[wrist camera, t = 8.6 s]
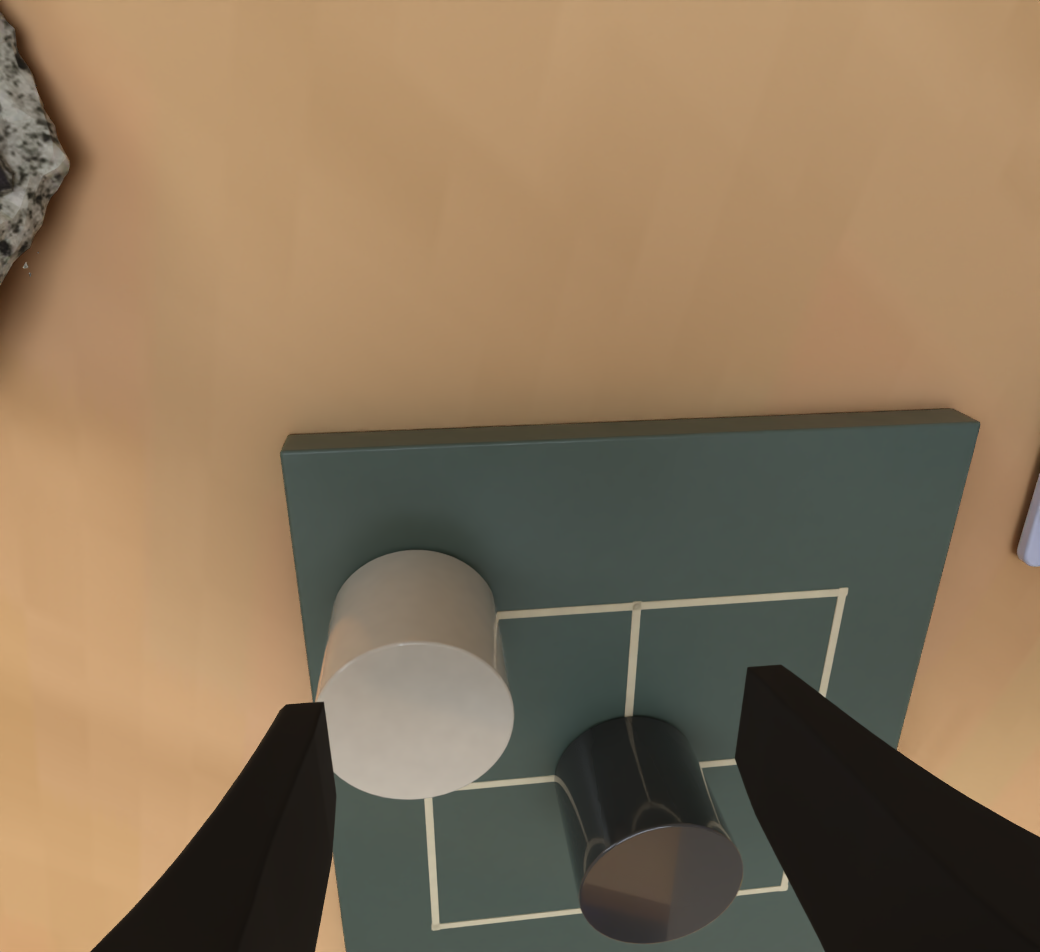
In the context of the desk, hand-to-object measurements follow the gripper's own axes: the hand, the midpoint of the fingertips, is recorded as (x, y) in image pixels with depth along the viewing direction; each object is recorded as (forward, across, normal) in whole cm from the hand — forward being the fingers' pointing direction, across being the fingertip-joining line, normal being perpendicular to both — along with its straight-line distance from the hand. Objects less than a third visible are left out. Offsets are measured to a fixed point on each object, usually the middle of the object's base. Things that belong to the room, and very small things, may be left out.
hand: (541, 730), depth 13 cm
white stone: (+7, +2, +3) cm, 8 cm away
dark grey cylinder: (+7, -4, +9) cm, 12 cm away
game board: (+9, -4, +9) cm, 13 cm away
